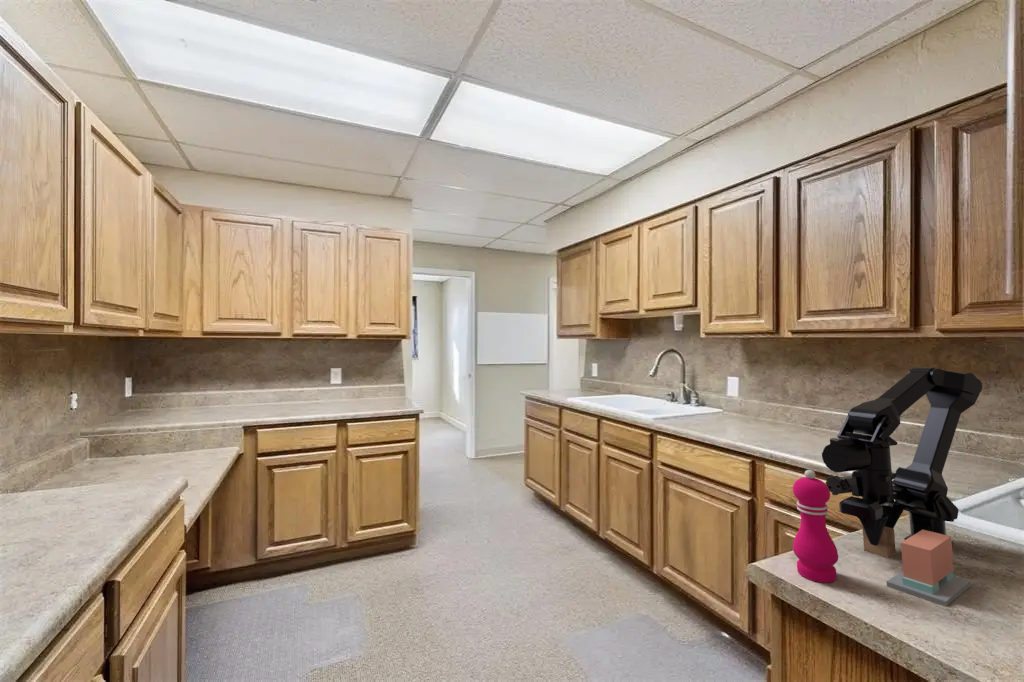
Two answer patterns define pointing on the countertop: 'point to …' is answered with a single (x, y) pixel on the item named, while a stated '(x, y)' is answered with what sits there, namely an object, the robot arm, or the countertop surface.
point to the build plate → (932, 588)
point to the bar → (927, 557)
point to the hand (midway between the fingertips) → (879, 541)
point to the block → (881, 543)
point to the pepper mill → (814, 531)
